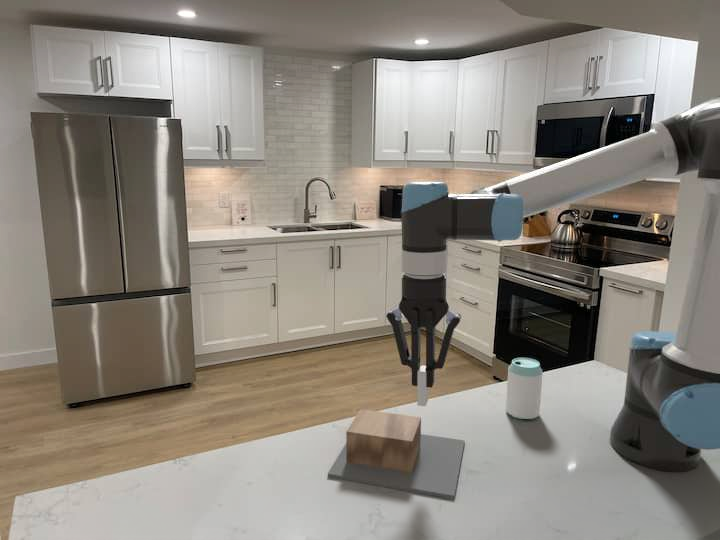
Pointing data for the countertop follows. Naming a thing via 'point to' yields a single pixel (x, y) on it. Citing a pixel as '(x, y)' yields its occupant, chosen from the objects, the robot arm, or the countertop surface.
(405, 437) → the walnut block
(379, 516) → the countertop surface
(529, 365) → the can
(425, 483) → the mat
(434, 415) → the countertop surface
